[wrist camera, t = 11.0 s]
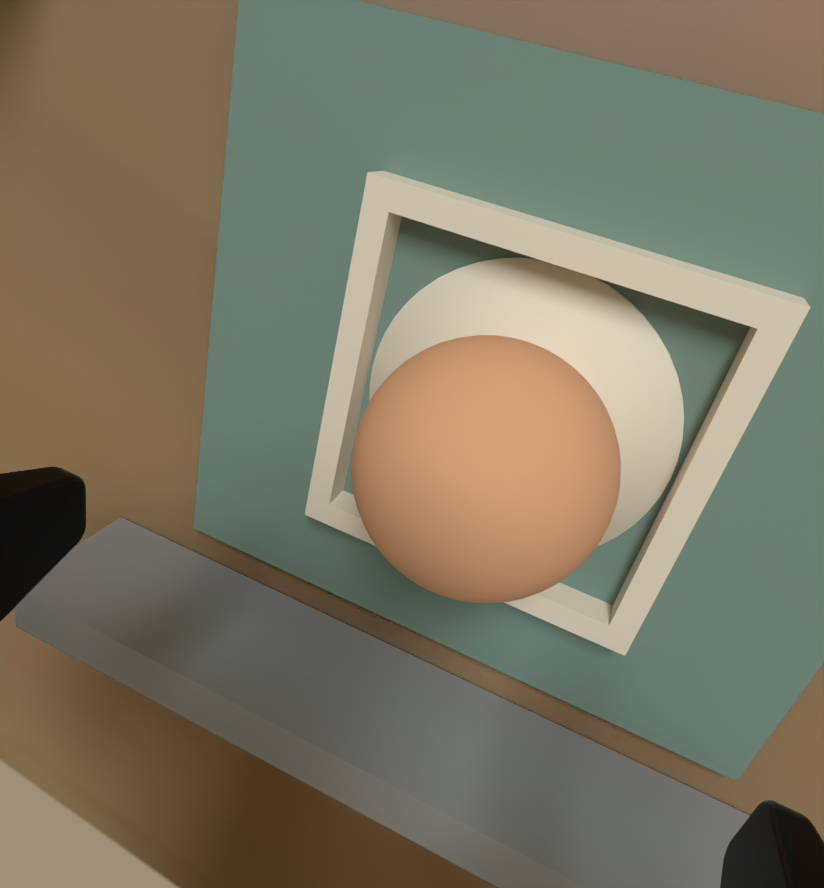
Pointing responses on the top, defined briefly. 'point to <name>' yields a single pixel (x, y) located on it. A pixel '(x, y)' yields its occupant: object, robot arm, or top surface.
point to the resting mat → (541, 323)
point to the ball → (486, 469)
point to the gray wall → (374, 723)
